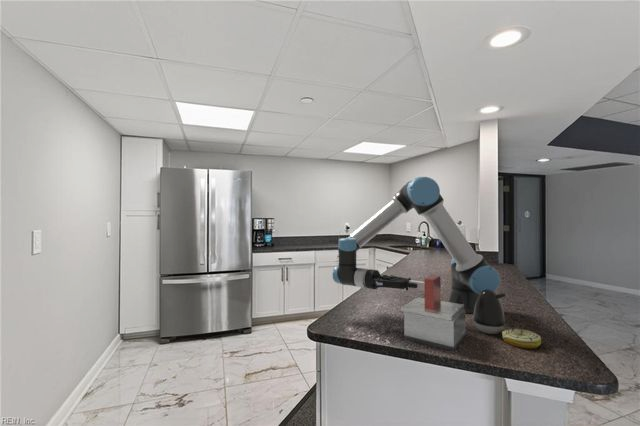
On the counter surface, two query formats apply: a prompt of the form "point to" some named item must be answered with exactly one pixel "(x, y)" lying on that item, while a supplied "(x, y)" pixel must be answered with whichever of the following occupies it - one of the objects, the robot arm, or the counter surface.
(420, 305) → the lid
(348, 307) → the counter surface
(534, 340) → the decorated donut
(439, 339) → the grey storage bin
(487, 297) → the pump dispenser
